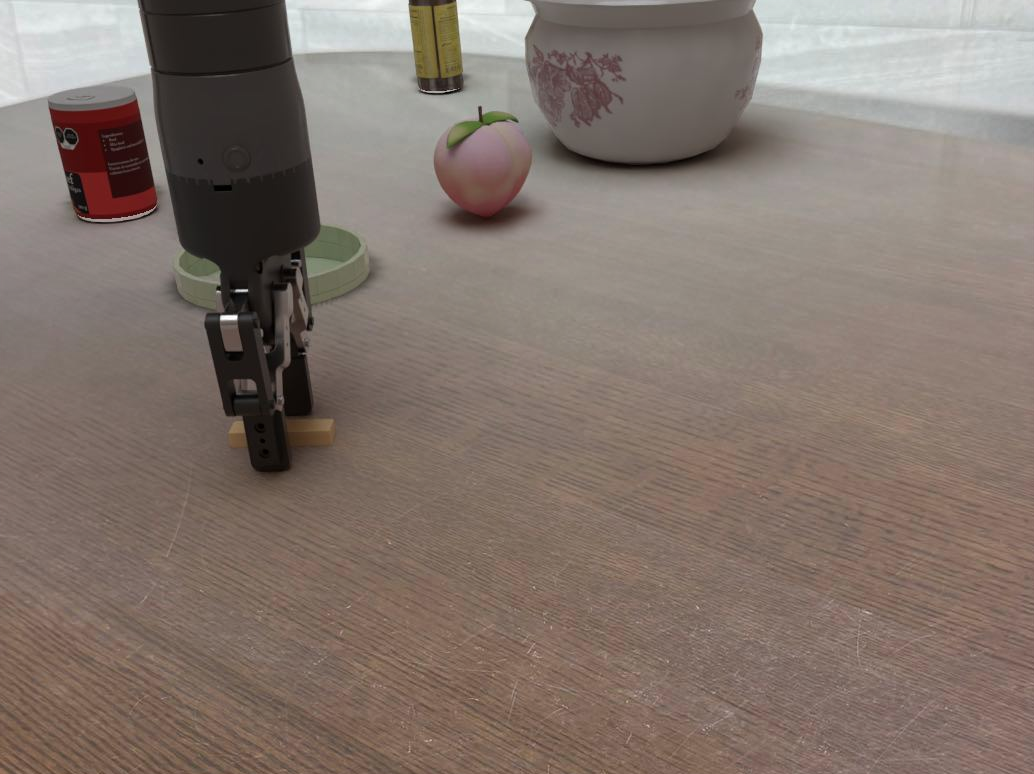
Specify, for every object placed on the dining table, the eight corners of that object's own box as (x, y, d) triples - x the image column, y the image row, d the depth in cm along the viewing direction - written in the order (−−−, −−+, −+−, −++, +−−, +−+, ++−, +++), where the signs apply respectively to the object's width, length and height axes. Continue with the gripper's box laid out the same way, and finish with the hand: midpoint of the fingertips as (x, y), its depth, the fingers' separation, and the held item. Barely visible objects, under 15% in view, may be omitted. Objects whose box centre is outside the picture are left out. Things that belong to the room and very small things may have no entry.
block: (234, 468, 72) (227, 432, 70) (240, 456, 73) (234, 420, 72) (334, 466, 71) (329, 430, 70) (338, 453, 73) (333, 418, 71)
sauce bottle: (464, 83, 162) (454, -82, 151) (463, 94, 157) (452, -77, 146) (417, 85, 162) (403, -80, 151) (414, 96, 157) (399, -75, 146)
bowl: (158, 331, 90) (148, 287, 88) (208, 264, 103) (200, 224, 101) (356, 327, 90) (351, 282, 88) (382, 259, 103) (378, 219, 101)
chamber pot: (744, 192, 115) (757, -47, 104) (478, 176, 123) (464, -47, 112) (789, 123, 138) (804, -80, 127) (561, 113, 146) (557, -78, 135)
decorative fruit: (473, 198, 117) (466, 91, 111) (546, 208, 113) (543, 98, 108) (418, 226, 110) (408, 113, 105) (494, 238, 106) (487, 121, 101)
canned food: (83, 203, 120) (56, 87, 114) (165, 197, 121) (142, 83, 115) (66, 226, 113) (36, 106, 108) (152, 221, 114) (127, 100, 108)
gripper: (201, 122, 69) (249, 389, 78) (123, 195, 56) (190, 501, 65) (332, 118, 68) (364, 386, 77) (281, 191, 56) (327, 499, 65)
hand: (284, 438), depth 71 cm, fingers open, 6 cm apart
